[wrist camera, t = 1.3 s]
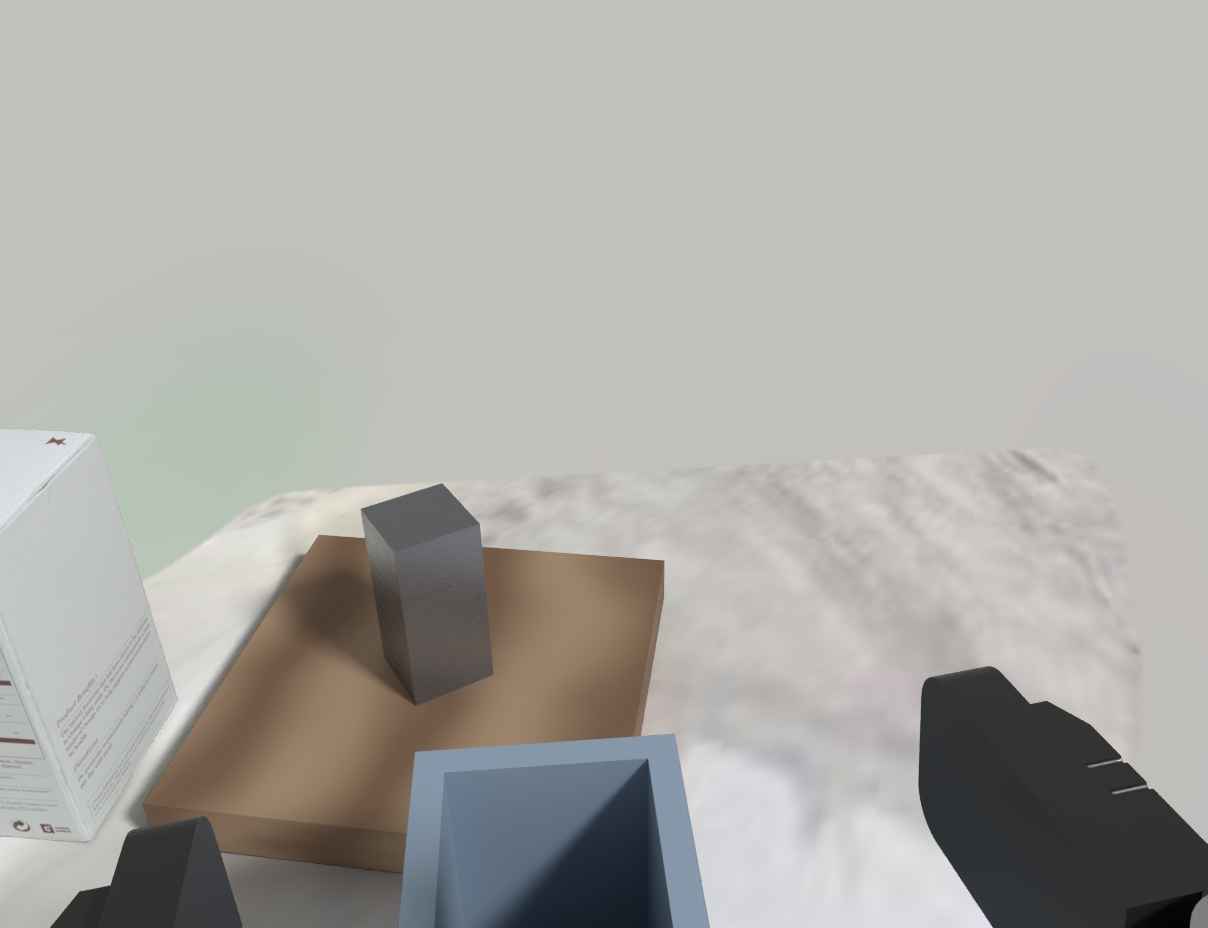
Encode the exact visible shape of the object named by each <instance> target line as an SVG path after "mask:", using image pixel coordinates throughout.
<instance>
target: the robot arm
mask: <svg viewBox="0 0 1208 928" xmlns="http://www.w3.org/2000/svg"><path fill="white" fill-rule="evenodd" d="M1146 783H1147V782H1146V781H1145V780H1144V779H1143V778H1142V777H1141V776H1140V775H1139V774H1138V773H1137V772H1136V771H1135V770H1134V769H1133V768H1132V767H1131V766H1130V765H1129V764H1128V763H1123V762H1122V759H1121V755H1120V754H1119V753H1118V752H1117V751H1116V750H1115V749H1114V748H1113V747H1112V746H1111V745H1110V744H1109V743H1108V742H1107V741H1106V740H1105V739H1104V738H1103V737H1102V736H1101V735H1100V734H1099V733H1098V732H1097V731H1096V730H1095V729H1094V728H1093V727H1092V726H1091V725H1090V724H1088V723H1086V722H1084V721H1083V720H1081V719H1079V718H1077V717H1075V716H1073V715H1072V714H1070V713H1068V712H1066V711H1064V710H1063V709H1061V708H1059V707H1057V706H1055V705H1053V704H1052V703H1050V702H1048V701H1044V702H1039V703H1034V704H1030V703H1029V702H1028V701H1027V700H1026V699H1025V698H1024V697H1023V696H1022V695H1021V694H1020V693H1019V692H1018V691H1017V689H1016V688H1015V687H1014V686H1013V685H1012V684H1011V683H1010V682H1009V681H1008V680H1007V679H1006V678H1005V676H1004V675H1003V674H1002V673H1001V672H1000V671H999V670H997V669H996V668H994V667H991V666H987V667H982V668H976V669H971V670H966V671H961V672H956V673H951V674H945V675H940V676H935V677H930V678H928V679H927V680H926V681H925V682H924V685H923V688H922V695H921V723H920V752H919V795H920V801H921V805H922V809H923V813H924V816H925V819H926V822H927V824H928V827H929V829H930V831H931V833H932V835H933V837H934V839H935V841H936V842H937V844H938V845H939V847H940V848H941V850H942V851H943V853H944V854H945V856H946V857H947V859H948V860H949V862H950V863H951V865H952V866H953V868H954V869H955V871H956V872H957V874H958V876H959V877H960V879H961V880H962V882H963V883H964V885H965V886H966V888H967V889H968V891H969V892H970V894H971V895H972V897H973V898H974V900H975V901H976V903H977V904H978V906H979V907H980V909H981V910H982V912H983V913H984V915H985V916H986V918H987V919H988V921H989V922H990V924H991V925H992V927H993V928H1208V844H1207V843H1206V842H1205V841H1204V840H1203V839H1202V838H1201V837H1200V836H1199V835H1198V834H1197V833H1196V832H1195V831H1194V830H1193V829H1192V828H1191V827H1190V826H1189V825H1188V824H1187V823H1186V822H1185V821H1184V820H1183V819H1182V818H1181V817H1180V816H1179V815H1178V814H1177V813H1176V812H1175V811H1174V809H1173V808H1172V807H1170V805H1169V804H1168V803H1167V802H1166V801H1165V800H1164V799H1163V798H1162V797H1161V796H1160V795H1159V794H1158V793H1157V792H1156V791H1155V790H1154V789H1149V788H1148V787H1147V784H1146ZM50 928H242V924H241V920H240V916H239V913H238V910H237V907H236V903H235V900H234V897H233V893H232V890H231V887H230V883H229V880H228V877H227V873H226V870H225V867H224V864H223V860H222V857H221V854H220V850H219V847H218V844H217V840H216V837H215V834H214V831H213V828H212V825H211V823H210V821H209V820H208V819H207V818H206V817H205V816H200V817H195V818H190V819H185V820H180V821H175V822H169V823H164V824H159V825H154V826H149V827H144V828H138V829H133V830H131V831H130V832H129V833H128V834H127V836H126V838H125V841H124V844H123V847H122V850H121V853H120V857H119V860H118V863H117V866H116V870H115V873H114V876H113V879H112V883H111V886H106V887H101V888H96V889H91V890H85V891H80V892H79V893H78V894H77V895H76V897H75V898H74V899H73V900H72V901H71V903H70V904H69V905H68V906H67V908H66V909H65V910H64V911H63V913H62V914H61V915H60V916H59V917H58V919H57V920H56V921H55V922H54V924H53V925H52V926H51V927H50Z"/></svg>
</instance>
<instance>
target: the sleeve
mask: <svg viewBox="0 0 1208 928" xmlns="http://www.w3.org/2000/svg"><path fill="white" fill-rule="evenodd" d="M398 928H710V926H709V920H708V915H707V909H706V904H705V898H704V893H703V887H702V882H701V876H700V871H699V865H698V860H697V854H696V849H695V843H694V838H693V832H692V827H691V821H690V816H689V810H688V805H687V799H686V794H685V788H684V783H683V777H682V772H681V766H680V761H679V755H678V750H677V744H676V739H675V734H665V735H651V736H636V737H622V738H607V739H593V740H578V741H564V742H549V743H535V744H520V745H506V746H491V747H477V748H462V749H448V750H433V751H419V752H415V757H414V768H413V778H412V788H411V798H410V809H409V819H408V829H407V839H406V850H405V860H404V870H403V880H402V891H401V901H400V911H399V921H398Z"/></svg>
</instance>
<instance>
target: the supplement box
mask: <svg viewBox="0 0 1208 928" xmlns="http://www.w3.org/2000/svg"><path fill="white" fill-rule="evenodd" d="M177 701H178V697H177V695H176V692H175V689H174V686H173V682H172V679H171V676H170V673H169V669H168V665H167V662H166V659H165V655H164V653H163V650H162V646H161V643H160V640H159V636H158V633H157V630H156V627H155V624H154V620H153V617H152V613H151V610H150V607H149V604H148V600H147V597H146V594H145V590H144V587H143V584H142V580H141V577H140V574H139V571H138V567H137V564H136V561H135V558H134V554H133V551H132V548H131V545H130V542H129V538H128V535H127V532H126V528H125V525H124V522H123V518H122V515H121V512H120V509H119V506H118V503H117V499H116V496H115V493H114V489H113V486H112V483H111V479H110V476H109V473H108V469H107V466H106V463H105V460H104V457H103V453H102V450H101V447H100V443H99V440H98V437H97V436H96V435H94V434H87V433H77V432H65V431H47V430H16V429H0V836H8V837H20V838H32V839H45V840H60V841H73V842H89V841H90V840H91V839H92V838H93V837H94V835H95V834H96V832H97V830H98V829H99V827H100V825H101V824H102V822H103V820H104V819H105V817H106V816H107V814H108V812H109V811H110V809H111V808H112V806H113V804H114V803H115V801H116V799H117V798H118V796H119V795H120V793H121V791H122V790H123V788H124V786H125V785H126V783H127V782H128V780H129V778H130V777H131V775H132V774H133V772H134V770H135V769H136V767H137V766H138V764H139V762H140V761H141V759H142V757H143V756H144V754H145V753H146V751H147V749H148V748H149V746H150V745H151V743H152V741H153V740H154V738H155V737H156V735H157V733H158V732H159V730H160V729H161V727H162V725H163V724H164V722H165V721H166V719H167V717H168V716H169V714H170V713H171V711H172V709H173V708H174V706H175V705H176V703H177Z"/></svg>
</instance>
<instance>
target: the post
mask: <svg viewBox="0 0 1208 928" xmlns="http://www.w3.org/2000/svg"><path fill="white" fill-rule="evenodd" d="M361 515H362V521H363V527H364V533H365V540H366V546H367V552H368V558H369V565H370V571H371V577H372V584H373V590H374V596H375V602H376V609H377V615H378V621H379V627H380V634H381V640H382V646H383V653H384V658H385V659H386V661H387V662H388V664H389V666H390V667H391V669H392V670H393V672H394V673H395V675H396V676H397V678H398V679H399V681H400V682H401V684H402V685H403V687H404V688H405V690H406V691H407V693H408V694H409V696H410V697H411V699H412V700H413V702H414V703H415V705H416V706H418V705H420V704H423V703H425V702H428V701H430V700H432V699H435V698H437V697H440V696H442V695H445V694H447V693H450V692H452V691H455V690H457V689H459V688H462V687H464V686H467V685H469V684H472V683H474V682H477V681H479V680H482V679H484V678H486V677H489V676H491V675H494V674H493V663H492V652H491V641H490V630H489V620H488V609H487V598H486V587H485V577H484V566H483V555H482V544H481V533H480V524H479V523H478V522H477V520H476V519H475V518H474V517H473V516H472V515H471V514H470V513H469V512H468V511H467V510H466V509H465V507H464V506H463V505H462V504H461V503H460V502H459V501H458V500H457V499H456V498H455V497H454V496H453V495H452V493H451V492H450V491H449V490H448V489H447V488H446V487H445V486H444V485H443V484H439V485H435V486H432V487H429V488H426V489H423V490H419V491H416V492H413V493H410V494H407V495H404V496H400V497H397V498H394V499H391V500H388V501H385V502H381V503H378V504H375V505H372V506H369V507H365V508H362V509H361Z"/></svg>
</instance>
